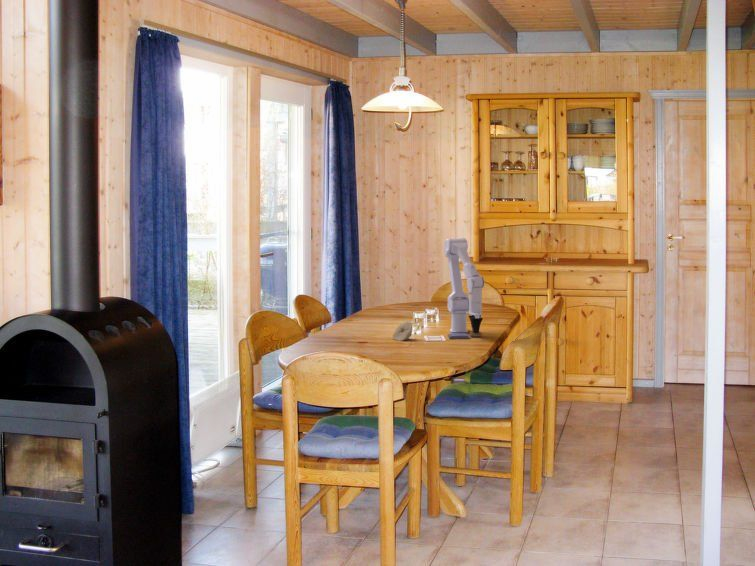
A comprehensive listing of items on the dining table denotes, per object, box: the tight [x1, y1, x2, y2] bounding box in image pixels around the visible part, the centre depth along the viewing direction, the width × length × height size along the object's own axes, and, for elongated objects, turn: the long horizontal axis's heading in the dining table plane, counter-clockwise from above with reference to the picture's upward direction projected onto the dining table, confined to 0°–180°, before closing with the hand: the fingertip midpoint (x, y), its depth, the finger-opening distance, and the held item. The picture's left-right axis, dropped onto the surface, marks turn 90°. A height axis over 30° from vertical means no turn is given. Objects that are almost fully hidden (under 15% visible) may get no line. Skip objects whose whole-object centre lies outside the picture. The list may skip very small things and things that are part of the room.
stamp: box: [469, 331, 482, 339], centre depth 429 cm, size 4×4×6 cm
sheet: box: [423, 334, 447, 342], centre depth 426 cm, size 14×9×1 cm, turn 1°
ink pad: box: [447, 332, 470, 340], centre depth 428 cm, size 9×9×1 cm
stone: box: [392, 320, 413, 342], centre depth 425 cm, size 10×7×10 cm
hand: (475, 331), depth 429 cm, fingers open, 5 cm apart
